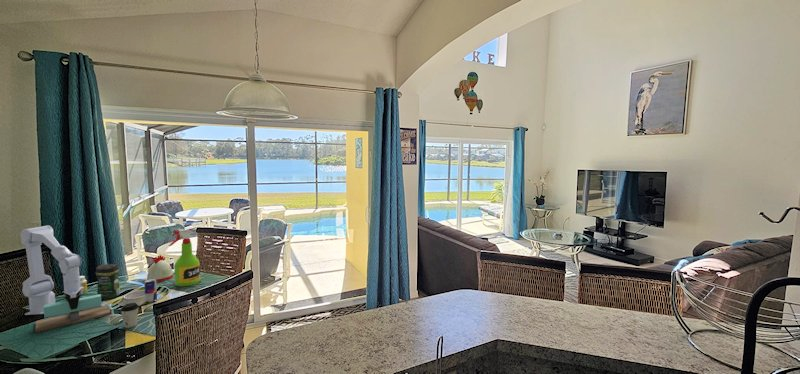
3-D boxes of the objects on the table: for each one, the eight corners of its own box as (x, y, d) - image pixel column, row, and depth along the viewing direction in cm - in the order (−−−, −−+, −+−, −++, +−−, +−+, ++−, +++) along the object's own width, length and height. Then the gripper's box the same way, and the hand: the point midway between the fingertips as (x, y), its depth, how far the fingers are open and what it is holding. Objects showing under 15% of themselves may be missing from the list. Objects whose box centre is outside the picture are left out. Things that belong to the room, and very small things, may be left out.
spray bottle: (162, 287, 205) (160, 230, 202) (189, 277, 223) (187, 224, 219) (179, 290, 202) (177, 232, 198) (205, 279, 219) (203, 226, 215)
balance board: (36, 323, 161) (35, 316, 160) (107, 306, 179) (107, 300, 179) (35, 332, 152) (34, 325, 152) (110, 314, 171) (110, 307, 171)
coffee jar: (94, 299, 186) (92, 267, 185) (104, 293, 194) (102, 262, 192) (114, 299, 188) (111, 266, 186) (123, 293, 196) (121, 262, 194)
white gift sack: (141, 280, 215) (140, 258, 213) (160, 273, 228) (159, 251, 227) (160, 282, 212) (159, 259, 211) (178, 275, 226) (177, 253, 224)
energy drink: (150, 303, 183) (149, 282, 182) (142, 302, 184) (141, 281, 183) (159, 299, 188) (158, 278, 187) (151, 298, 190) (150, 278, 188)
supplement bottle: (75, 295, 191) (74, 279, 190) (74, 293, 194) (72, 277, 193) (88, 293, 195) (87, 277, 194) (86, 290, 198) (85, 274, 197)
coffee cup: (124, 330, 156) (123, 309, 155) (118, 326, 160) (117, 305, 159) (142, 324, 162) (141, 304, 161) (136, 320, 166) (135, 300, 165)
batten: (44, 317, 157) (43, 307, 157) (45, 315, 160) (44, 304, 160) (101, 305, 171) (100, 296, 170) (101, 303, 173) (100, 294, 173)
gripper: (84, 282, 162) (86, 309, 163) (82, 274, 172) (83, 300, 173) (63, 286, 157) (65, 314, 158) (62, 278, 167) (64, 304, 168)
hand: (73, 307), depth 165 cm, fingers closed on batten, 4 cm apart
